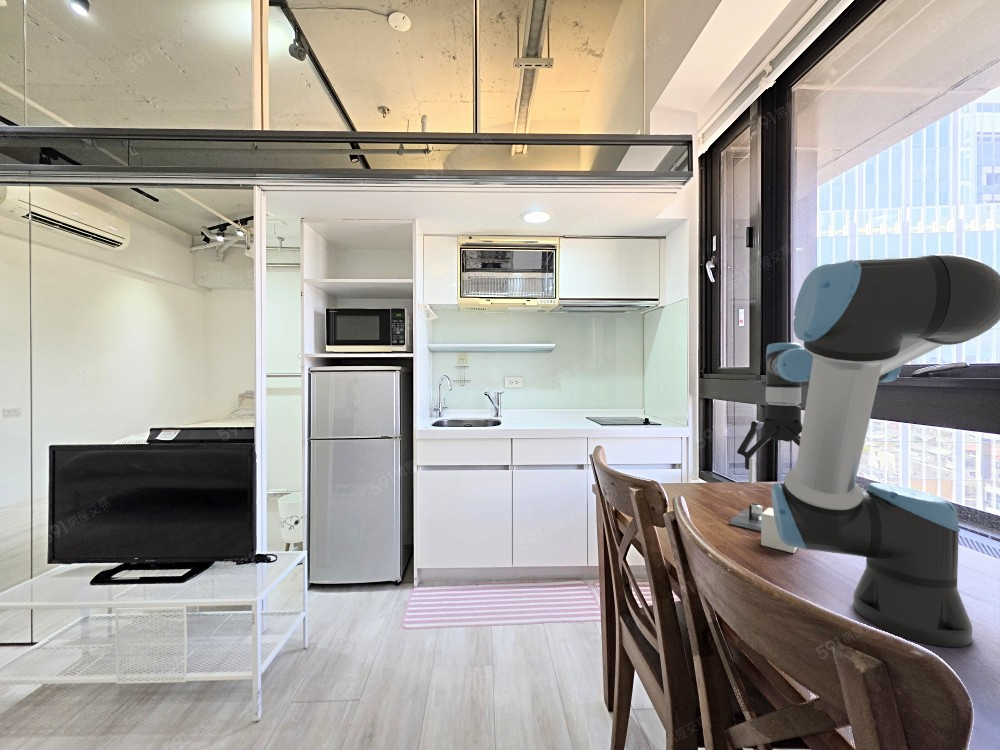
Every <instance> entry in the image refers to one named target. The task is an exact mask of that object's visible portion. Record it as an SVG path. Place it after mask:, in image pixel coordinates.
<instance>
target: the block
mask: <svg viewBox="0 0 1000 750" xmlns="http://www.w3.org/2000/svg"><path fill="white" fill-rule="evenodd" d="M760 534H761V536H760V539H761V540H760V541H761V542H760V544H761V545H760V546H763V547H769V548H772V549H776V550H779V551H784V552H788V553H792V554H795V552H796V551H797V550H798V549H799V548H797V547H792V546H789V545H786V544H785V543H784V542H782V540H781V539H780V537H779V534H778V531H777V527H776V523H775V518H774V512H773V507H767V508H766V509H765V510H764V511H762V516H761V531H760Z"/></svg>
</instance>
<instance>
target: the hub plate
mask: <svg viewBox="0 0 1000 750" xmlns="http://www.w3.org/2000/svg"><path fill="white" fill-rule="evenodd" d="M762 513H763V504H761V503H756V502H751V503H750V504H749V505H748V509H747V508H745V509H743V510H741V511H740V512H739V513H737V514H735V516H733V517H732V518H730V519H729V524H730V525H733V526H737V527H742V528H746V529H750V530H754V531H759V532H761V516H762Z"/></svg>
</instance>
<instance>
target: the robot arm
mask: <svg viewBox="0 0 1000 750" xmlns="http://www.w3.org/2000/svg"><path fill="white" fill-rule="evenodd" d="M793 315H794V316H793V317H794V319H793V332H794V334H795V337H796V338H797V339H798V340H799V341H802V342H803V347H802V345H801V344H800V343H798V342H776V343H769V344H768V345H767V346H766V353H765V354H766V355H765V356H764V357H765V364H766V365H765V366H766V367H765V369H766V370H765V371H766V372H765V382H766V383H765V402H767V403H768V404H766V405H765V415H764V416H765V419H764V422H761V421H759V420H753V421H751V423H750V429H749V430H748V432H747V433H746V436H745V438H744V439H743V441H742V442H741V444H740V445H739V447H738V449H737V451H736V453H737V454H738V455H741V456H743V457H744V468H745V470H748V483H749V484H754V483H755V482H756V457H754V456H753V455H754V454H756V453H757V452H758V451H759V450H760V449H761V448H762V447H763V446H764V445H766V444H767V443H768V442H769V441H770V440H771V439H772V440H774V441H778V442H779V441H783V442H788V443H789V442H792V441H793V442H794V444H796V445H797V447H798V453H797V461H796V465H795V467H794V468H793V469H790V470H789V471H787V472H786V474H785V475H784V479H783V483H782V482H780V481H779V482H775V483H773V484H771V488H770V490H771V491H770V492H771V493H770V494H771V503H772V508H773V512H774V518H775V523H776V527H777V531H778V534H779V537H780V539H781V540H782V542H784V543H785V544H786V545H789V546H792V547H797V548H798V549H803V550H804V551H805V550H807V551H818V552H824V553H833V554H840V555H848V556H854V557H855V556H856V557H861V558H862V557H863V558H865V559H866V562H865V563H866V564H865V569H864V570H863V573H862V575H861V577H860V579H859V582H858V583H857V586H856V587H855V590H854V591H853V602H852V603H853V608H854V609H855V611H856V612H857V613H858V614H859V615H860V616H861V617H862V618H864V619H865V620H867V621H868V622H870V623H872V624H873V625H875V626H877V627H878V628H881V629H882V630H885V631H887V632H890V633H892V634H894V635H897V636H900V637H902V638H905V639H909V640H912V641H916V642H919V643H923V644H928V645H931V646H932V645H933V646H937V647H938V646H939V647H943V648H944V647H946V648H947V647H948V648H963V647H966V646H969V645H971V644H972V642H973V625H972V622H971V619H970V617H969V615H968V612H967V610H966V607H965V605H964V602H963V600H962V597H961V594H960V592H959V590H958V575H959V574H958V571H959V570H958V568H959V567H958V566H959V564H958V563H959V535H960V534H959V533H960V532H961V529H960V525H959V517H958V509H957V508H956V507H955V505H954V504H953V503H951V502H950V501H949V500H947V499H945V498H943V497H940V496H937V495H935V494H932V493H928V492H924V491H921V490H918V489H914V488H909V487H905V486H901V485H897V484H888V483H885V482H869V483H868V484H867V486H866V487H865V489H866V491H865V490H863V489H862V487H861V486H860V485H859V484H858V483H857V482H856V481H857V480H856V479H857V476H858V472H859V468H860V467H859V466H860V464H861V463H860V462H861V458H862V455H863V451H864V450H863V449H864V444H865V440H866V437H867V434H868V433H867V432H868V428H869V424H870V420H871V414H872V410H873V406H874V402H875V398H876V397H875V396H876V392H877V388H878V385H879V383H890V382H892V383H893V382H894V381H896V380H897V379H898V377H899V376H900V373H901V371H902V366H904V365H906V364H908V363H910V362H911V361H914V360H916V359H918V358H920V357H921V356H924V355H926V354H928V353H930V352H932V351H935V350H936V349H939V348H940V347H942V346H952V345H959V344H962V343H966V342H968V341H970V340H972V339H974V338H976V337H977V338H978V337H979V336H981V335H982V334H984V333H986V332H987V331H989V330H991V328H993V327H994V326H995V325H997V324H998V323H999V321H1000V274H999V272H998V271H996V270H995V269H994V268H992V267H991V266H989V265H988V264H987V263H984V262H983V261H981V260H977V259H975V258H972V257H968V256H963V255H959V254H958V255H957V254H948V253H947V254H946V253H944V254H943V253H942V254H931V255H923V256H922V255H921V256H906V257H893V258H892V257H891V258H890V257H889V258H874V259H873V258H872V259H858V260H855V259H849V260H845V261H842V262H841V261H840V262H834V263H826V264H821V265H819V266H817V267H815V268H814V269H812V270H811V271H810V272H809V273H808V274H807V276H806V277H805V278H804V281H803V283H802V285H801V286H800V289H799V292H798V294H797V297H796V301H795V305H794V313H793ZM803 382H806V383H807V382H808V388H807V395H806V401H805V407H804V414H803V419H801V418H802V407H801V405H799V404H802V383H803ZM762 428H764V430H765V431H766V433H765V435H764V436H762V438H760V439H759V440H758V441H757V442H756V443H755V444H754V445H753V446H752V447H750V449H748V447H749V445H750V444H751V443H752V441H753V439H754V437H755V436H756V435H757V433H758V431H759V430H761V429H762ZM747 449H748V451H747Z"/></svg>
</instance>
